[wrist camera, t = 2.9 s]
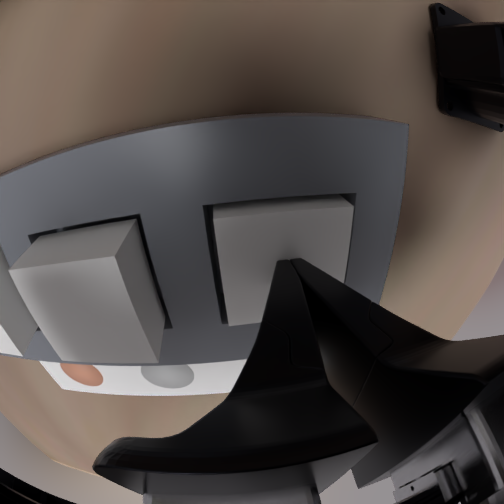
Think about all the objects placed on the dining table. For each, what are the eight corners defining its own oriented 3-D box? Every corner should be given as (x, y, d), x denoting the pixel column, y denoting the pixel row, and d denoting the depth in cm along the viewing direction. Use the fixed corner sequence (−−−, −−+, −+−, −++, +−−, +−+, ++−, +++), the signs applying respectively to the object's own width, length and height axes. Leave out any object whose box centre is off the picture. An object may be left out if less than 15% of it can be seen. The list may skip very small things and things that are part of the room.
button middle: (136, 218, 8) (114, 256, 6) (165, 317, 11) (158, 362, 9) (39, 235, 8) (8, 270, 6) (78, 321, 10) (62, 360, 8)
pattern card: (336, 319, 16) (338, 324, 15) (324, 374, 19) (325, 378, 19) (26, 339, 14) (25, 343, 14) (63, 386, 17) (62, 389, 17)
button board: (367, 116, 10) (409, 124, 7) (347, 299, 15) (368, 336, 13) (-44, 197, 8) (-73, 218, 6) (13, 324, 13) (-3, 354, 11)
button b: (327, 184, 10) (353, 206, 8) (320, 276, 13) (338, 310, 11) (213, 193, 10) (213, 218, 8) (226, 288, 12) (229, 326, 10)
